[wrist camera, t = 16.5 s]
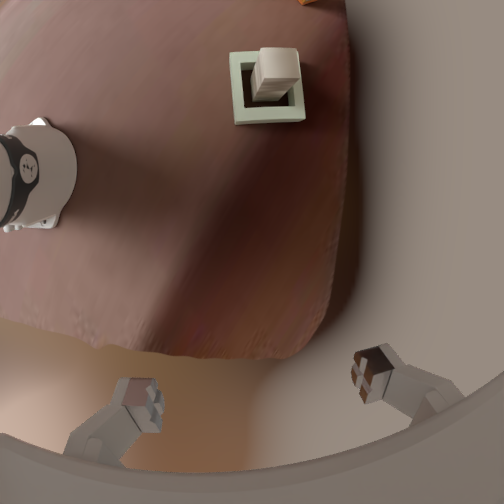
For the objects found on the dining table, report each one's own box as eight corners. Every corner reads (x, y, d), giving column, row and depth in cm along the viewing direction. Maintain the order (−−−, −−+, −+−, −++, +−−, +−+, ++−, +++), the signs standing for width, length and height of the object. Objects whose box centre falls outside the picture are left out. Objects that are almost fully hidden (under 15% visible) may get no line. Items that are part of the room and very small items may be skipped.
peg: (252, 102, 34) (264, 78, 23) (250, 79, 33) (261, 47, 21) (277, 100, 34) (300, 78, 23) (275, 78, 33) (296, 48, 22)
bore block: (234, 125, 35) (235, 121, 32) (229, 61, 32) (229, 52, 28) (298, 121, 35) (305, 118, 32) (291, 59, 32) (297, 51, 29)
